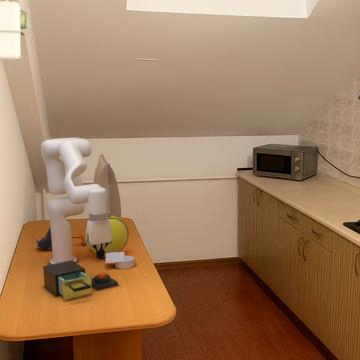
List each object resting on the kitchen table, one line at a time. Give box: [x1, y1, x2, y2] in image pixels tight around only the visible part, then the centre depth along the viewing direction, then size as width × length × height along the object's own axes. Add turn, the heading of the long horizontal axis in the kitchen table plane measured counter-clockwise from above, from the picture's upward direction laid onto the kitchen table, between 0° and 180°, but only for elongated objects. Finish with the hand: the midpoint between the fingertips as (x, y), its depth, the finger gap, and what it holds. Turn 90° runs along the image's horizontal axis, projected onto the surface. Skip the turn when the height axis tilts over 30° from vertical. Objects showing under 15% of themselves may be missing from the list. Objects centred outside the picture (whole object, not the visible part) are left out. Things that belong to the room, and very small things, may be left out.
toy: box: [84, 201, 130, 258], centre depth 275 cm, size 23×22×30 cm
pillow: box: [93, 154, 122, 221], centre depth 317 cm, size 44×14×43 cm, turn 19°
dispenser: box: [42, 260, 86, 297], centre depth 231 cm, size 15×13×9 cm
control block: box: [91, 273, 119, 291], centre depth 236 cm, size 11×9×4 cm
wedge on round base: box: [105, 251, 135, 270], centre depth 260 cm, size 9×7×13 cm
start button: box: [97, 271, 107, 278], centre depth 235 cm, size 4×4×2 cm
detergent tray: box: [57, 271, 93, 300], centre depth 223 cm, size 18×11×7 cm, turn 38°
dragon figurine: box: [34, 226, 86, 251], centre depth 290 cm, size 10×12×25 cm
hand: (100, 258), depth 235 cm, fingers closed
